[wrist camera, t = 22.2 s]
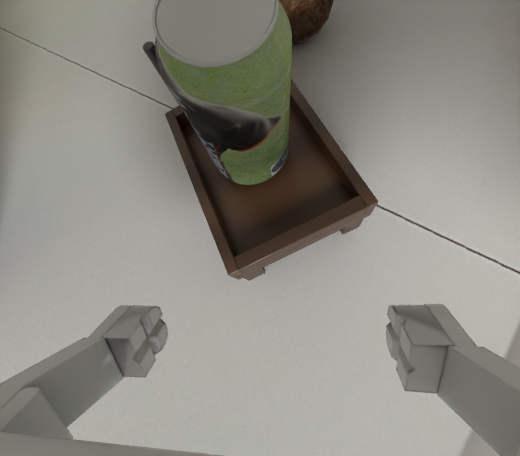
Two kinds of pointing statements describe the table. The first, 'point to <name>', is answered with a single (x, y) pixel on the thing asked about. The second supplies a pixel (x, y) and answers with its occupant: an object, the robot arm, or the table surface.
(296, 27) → the mushroom
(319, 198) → the tray
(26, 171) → the table surface
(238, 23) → the beverage can
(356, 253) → the table surface
